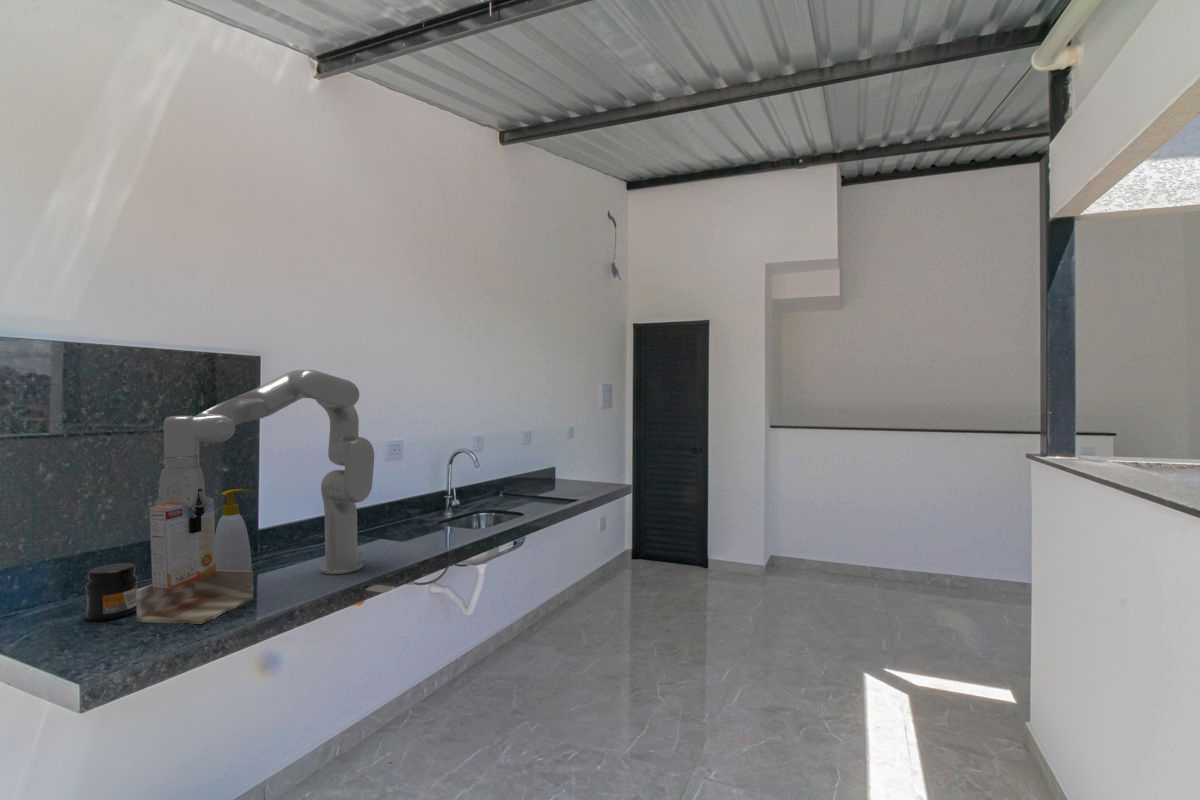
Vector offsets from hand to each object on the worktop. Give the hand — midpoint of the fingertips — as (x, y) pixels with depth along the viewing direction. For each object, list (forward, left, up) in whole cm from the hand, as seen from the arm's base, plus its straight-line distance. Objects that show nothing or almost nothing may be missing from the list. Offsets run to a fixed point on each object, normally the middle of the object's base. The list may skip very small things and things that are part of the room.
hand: (183, 531), depth 161 cm
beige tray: (0, +4, -21) cm, 21 cm away
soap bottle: (-31, -11, -21) cm, 39 cm away
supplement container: (+5, -16, -21) cm, 27 cm away
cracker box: (0, 0, -13) cm, 13 cm away
